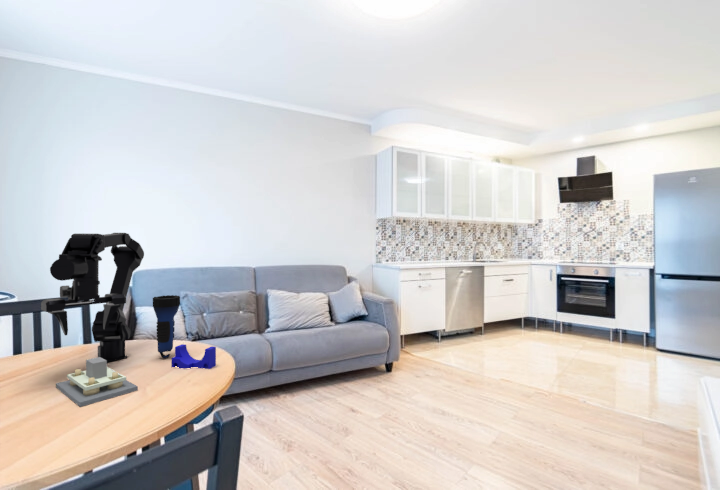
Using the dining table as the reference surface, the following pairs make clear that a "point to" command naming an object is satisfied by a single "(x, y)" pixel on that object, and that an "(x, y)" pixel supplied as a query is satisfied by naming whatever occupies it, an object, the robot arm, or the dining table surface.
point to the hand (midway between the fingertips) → (85, 332)
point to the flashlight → (165, 321)
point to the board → (98, 382)
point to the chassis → (94, 390)
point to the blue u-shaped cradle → (186, 361)
